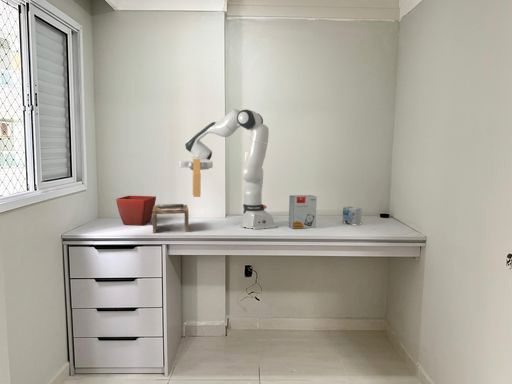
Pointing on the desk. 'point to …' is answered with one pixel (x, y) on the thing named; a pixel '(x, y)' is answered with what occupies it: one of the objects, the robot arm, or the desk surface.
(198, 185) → the tall tan upright block
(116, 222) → the desk surface
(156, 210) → the tan rectangular frame
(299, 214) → the hard drive box
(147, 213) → the plant pot
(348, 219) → the light bulb box
